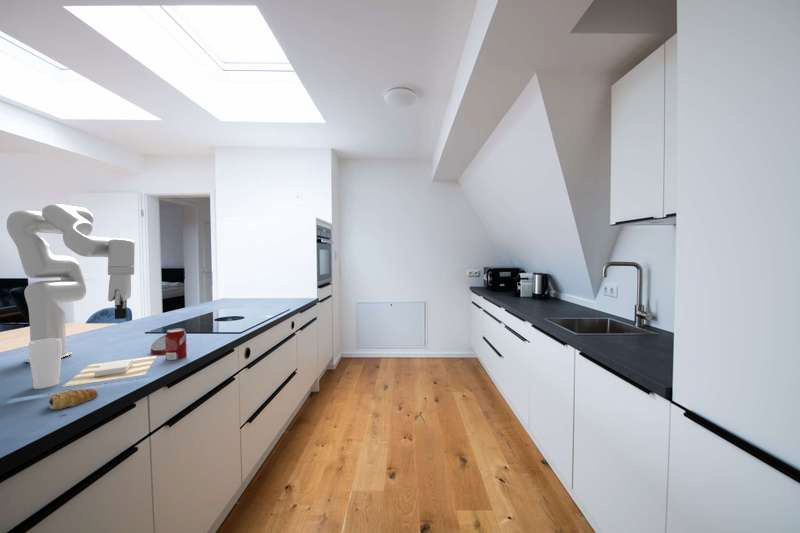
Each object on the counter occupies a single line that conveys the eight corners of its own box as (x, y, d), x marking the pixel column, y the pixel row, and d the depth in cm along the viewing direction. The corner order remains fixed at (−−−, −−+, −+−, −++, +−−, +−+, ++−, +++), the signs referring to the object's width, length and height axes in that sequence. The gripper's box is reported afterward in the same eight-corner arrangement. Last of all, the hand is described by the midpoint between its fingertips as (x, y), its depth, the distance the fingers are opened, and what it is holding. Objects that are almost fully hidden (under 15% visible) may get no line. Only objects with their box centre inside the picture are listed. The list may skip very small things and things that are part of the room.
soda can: (175, 363, 118) (175, 332, 118) (161, 362, 119) (160, 331, 119) (191, 357, 125) (190, 328, 124) (177, 356, 126) (176, 327, 126)
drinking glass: (32, 394, 91) (30, 344, 91) (27, 389, 95) (26, 341, 94) (65, 386, 97) (64, 339, 96) (60, 382, 100) (58, 336, 100)
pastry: (93, 394, 92) (93, 381, 92) (101, 399, 88) (101, 386, 88) (46, 407, 84) (45, 393, 84) (53, 413, 80) (52, 399, 80)
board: (89, 367, 114) (89, 364, 114) (157, 358, 125) (157, 355, 124) (61, 390, 94) (61, 387, 94) (145, 377, 104) (145, 374, 104)
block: (104, 362, 110) (94, 371, 102) (133, 358, 114) (126, 366, 106) (104, 368, 110) (94, 377, 102) (133, 364, 115) (126, 372, 106)
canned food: (180, 363, 132) (185, 344, 130) (150, 366, 125) (155, 347, 122) (175, 346, 139) (180, 328, 137) (146, 349, 132) (151, 330, 129)
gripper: (113, 269, 122) (113, 315, 123) (101, 272, 109) (101, 323, 110) (138, 270, 126) (137, 314, 127) (129, 272, 113) (128, 321, 114)
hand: (120, 318), depth 118 cm, fingers closed
